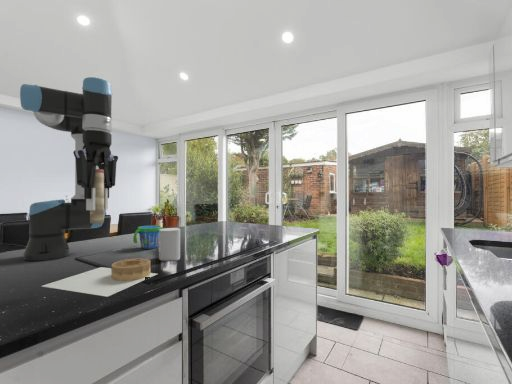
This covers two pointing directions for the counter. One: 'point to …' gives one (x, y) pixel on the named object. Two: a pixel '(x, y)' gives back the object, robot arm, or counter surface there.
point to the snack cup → (148, 236)
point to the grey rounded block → (169, 244)
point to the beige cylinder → (98, 198)
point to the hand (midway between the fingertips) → (97, 209)
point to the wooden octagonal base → (130, 269)
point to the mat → (94, 283)
